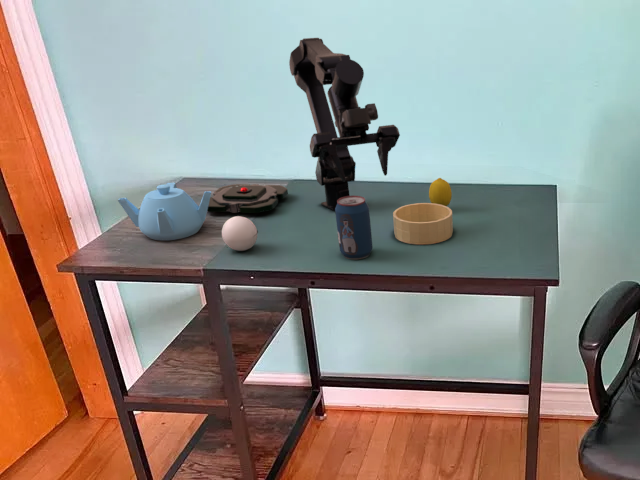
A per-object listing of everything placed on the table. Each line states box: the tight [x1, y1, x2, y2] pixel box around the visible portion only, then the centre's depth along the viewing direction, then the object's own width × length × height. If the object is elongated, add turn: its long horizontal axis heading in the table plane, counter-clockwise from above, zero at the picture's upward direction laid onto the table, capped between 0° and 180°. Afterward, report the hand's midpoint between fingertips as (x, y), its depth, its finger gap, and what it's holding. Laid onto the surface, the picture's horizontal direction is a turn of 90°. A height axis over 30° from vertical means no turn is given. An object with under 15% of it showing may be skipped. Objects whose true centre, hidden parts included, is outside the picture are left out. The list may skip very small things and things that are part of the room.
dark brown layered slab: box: [207, 183, 289, 214], centre depth 180 cm, size 18×18×5 cm
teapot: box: [117, 182, 212, 241], centre depth 162 cm, size 15×15×11 cm
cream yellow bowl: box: [392, 202, 454, 246], centre depth 162 cm, size 13×13×5 cm
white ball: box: [221, 215, 259, 252], centre depth 155 cm, size 10×7×7 cm
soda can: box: [334, 195, 373, 261], centre depth 150 cm, size 7×7×12 cm
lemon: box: [428, 177, 453, 207], centre depth 175 cm, size 6×6×8 cm
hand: (365, 177), depth 152 cm, fingers open, 9 cm apart
